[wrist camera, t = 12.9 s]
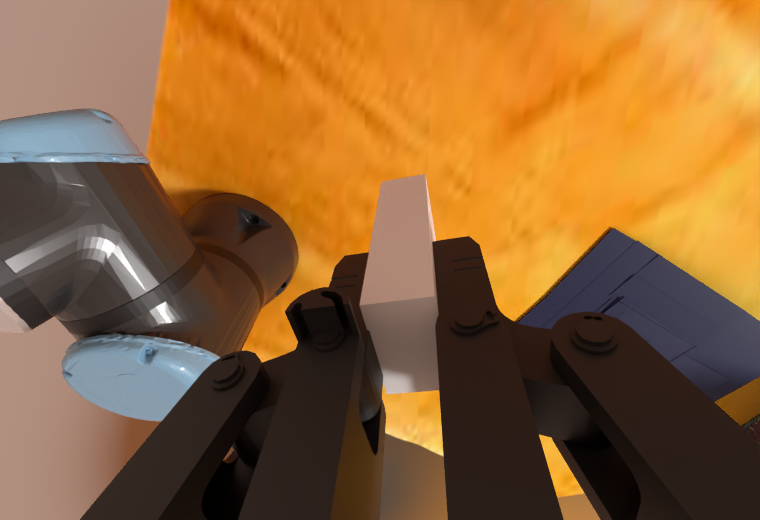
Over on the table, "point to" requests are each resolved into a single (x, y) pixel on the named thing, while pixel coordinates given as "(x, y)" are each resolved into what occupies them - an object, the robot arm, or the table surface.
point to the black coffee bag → (753, 428)
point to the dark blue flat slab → (661, 313)
